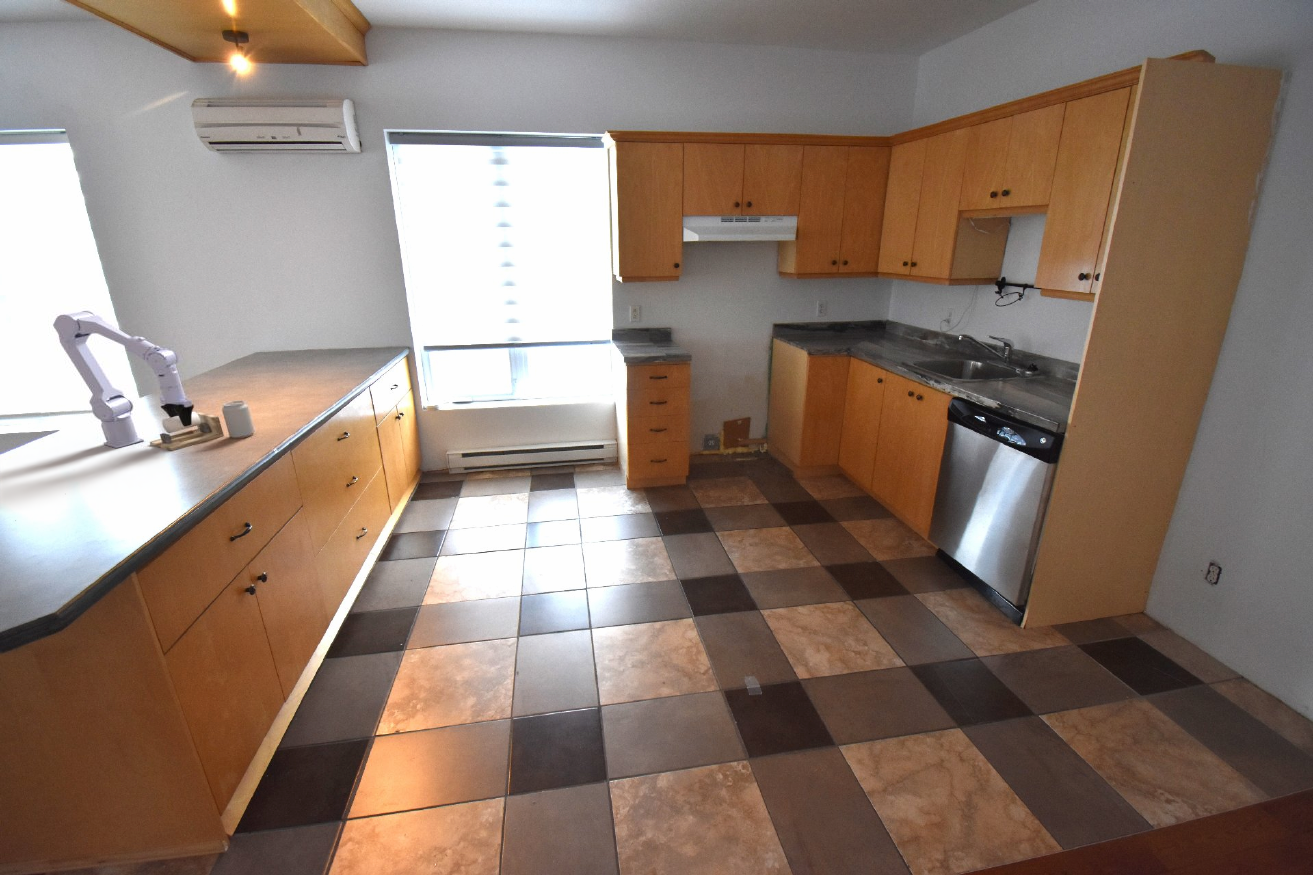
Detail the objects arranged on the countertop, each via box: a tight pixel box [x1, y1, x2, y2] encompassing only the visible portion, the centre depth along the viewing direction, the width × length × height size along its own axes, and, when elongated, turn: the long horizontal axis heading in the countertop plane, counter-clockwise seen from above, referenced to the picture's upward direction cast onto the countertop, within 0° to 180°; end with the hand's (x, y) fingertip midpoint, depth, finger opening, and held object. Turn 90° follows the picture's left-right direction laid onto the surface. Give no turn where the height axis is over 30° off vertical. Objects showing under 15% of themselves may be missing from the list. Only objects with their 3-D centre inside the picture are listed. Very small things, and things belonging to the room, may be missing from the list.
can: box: [221, 400, 255, 439], centre depth 206 cm, size 8×8×12 cm
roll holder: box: [149, 411, 225, 452], centre depth 203 cm, size 14×16×7 cm
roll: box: [161, 411, 201, 434], centre depth 202 cm, size 5×9×5 cm, turn 155°
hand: (183, 424), depth 203 cm, fingers closed on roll, 5 cm apart
